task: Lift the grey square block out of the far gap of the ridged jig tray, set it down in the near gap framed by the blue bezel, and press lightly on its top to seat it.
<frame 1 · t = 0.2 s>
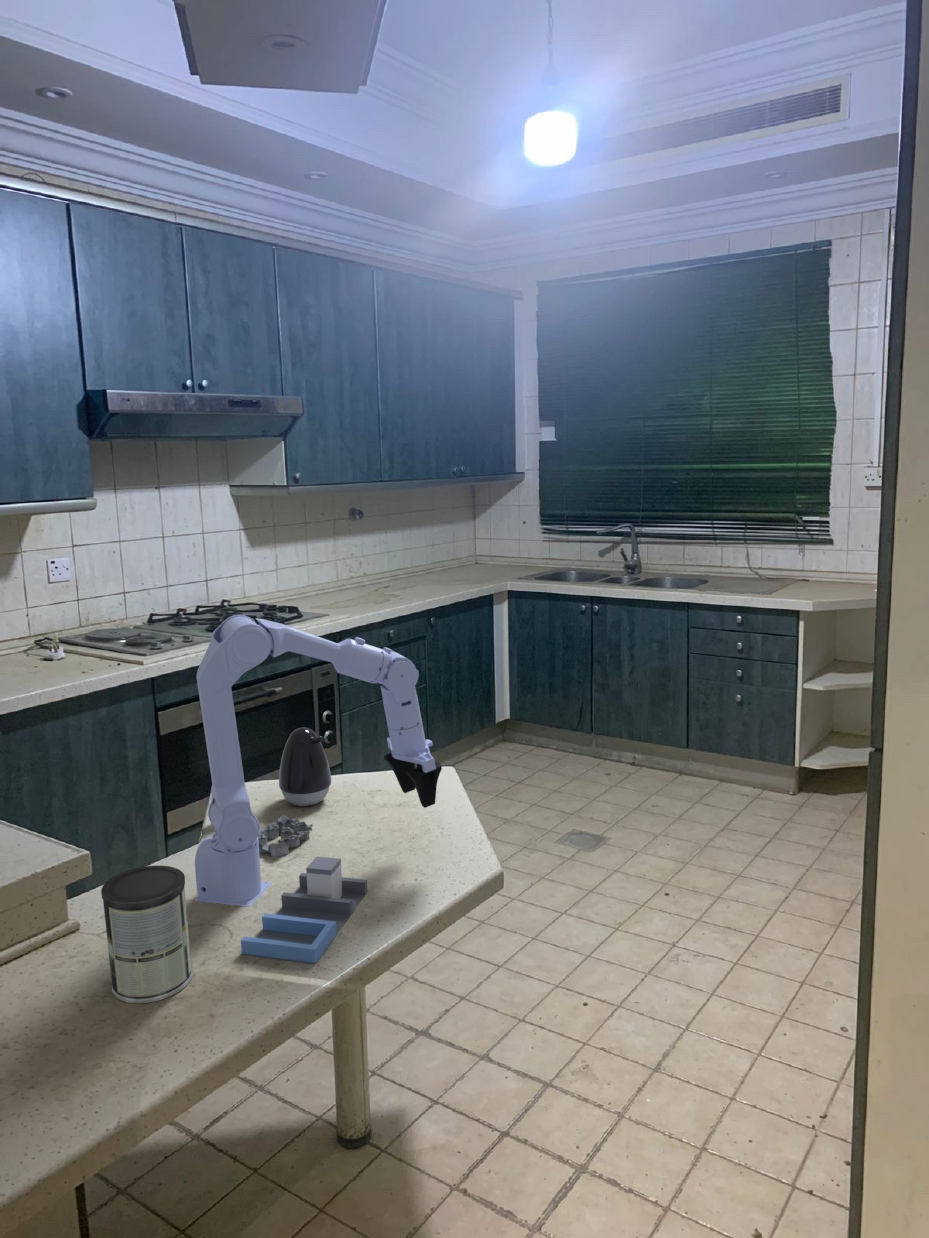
hand: (418, 797, 155), 11 cm above the table, tool pointing down, fingers open, 7 cm apart
grey square block: (325, 899, 141), point 1 cm above the table, touching ridged jig tray
ridged jig tray: (308, 924, 135), on the table
coffee can: (152, 982, 122), on the table
grey lumpy cluster: (281, 848, 162), on the table
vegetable: (226, 821, 173), on the table
black penguin toy: (306, 802, 182), on the table
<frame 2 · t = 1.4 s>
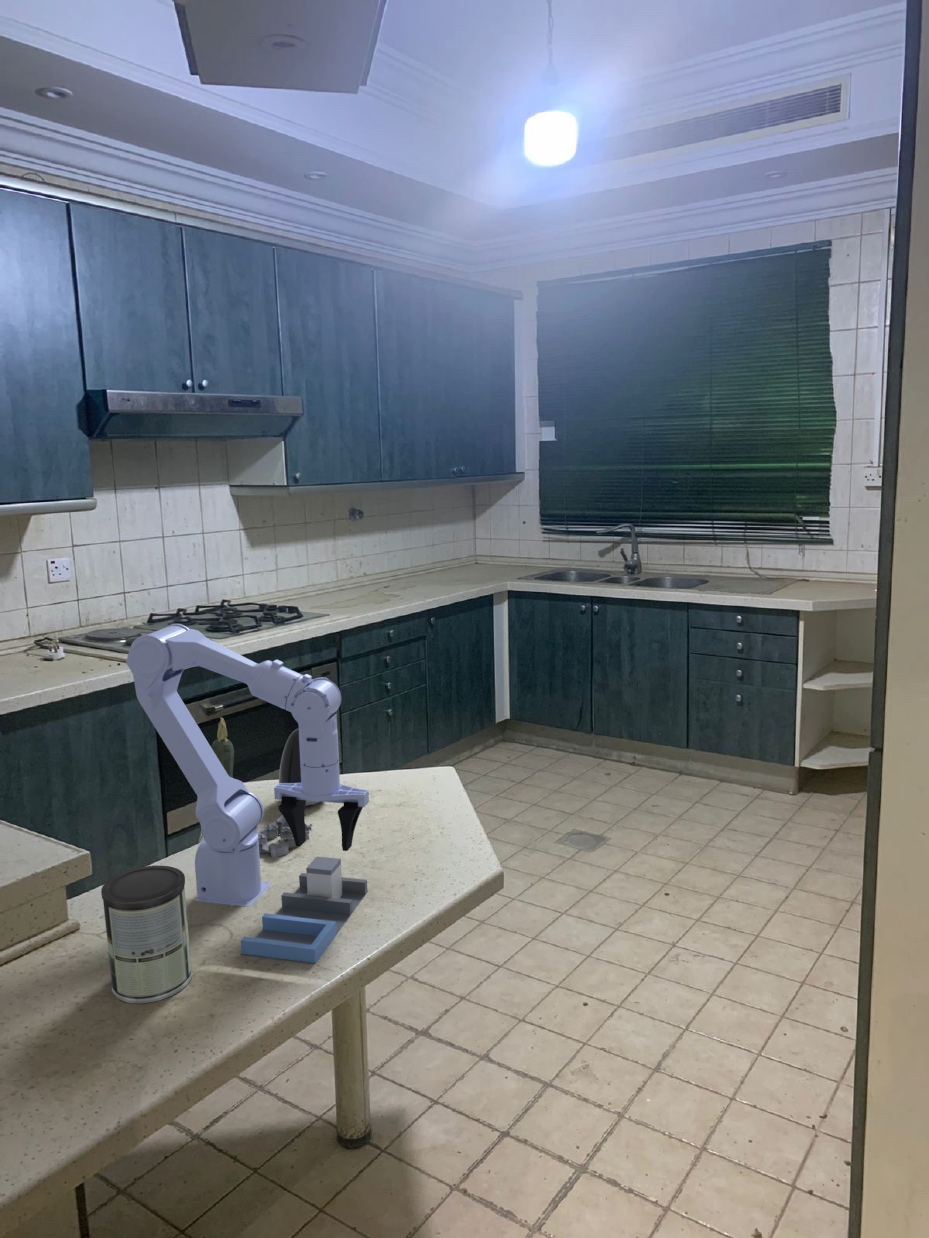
hand: (323, 845, 140), 9 cm above the table, tool pointing down, fingers open, 7 cm apart
nothing on the table moved.
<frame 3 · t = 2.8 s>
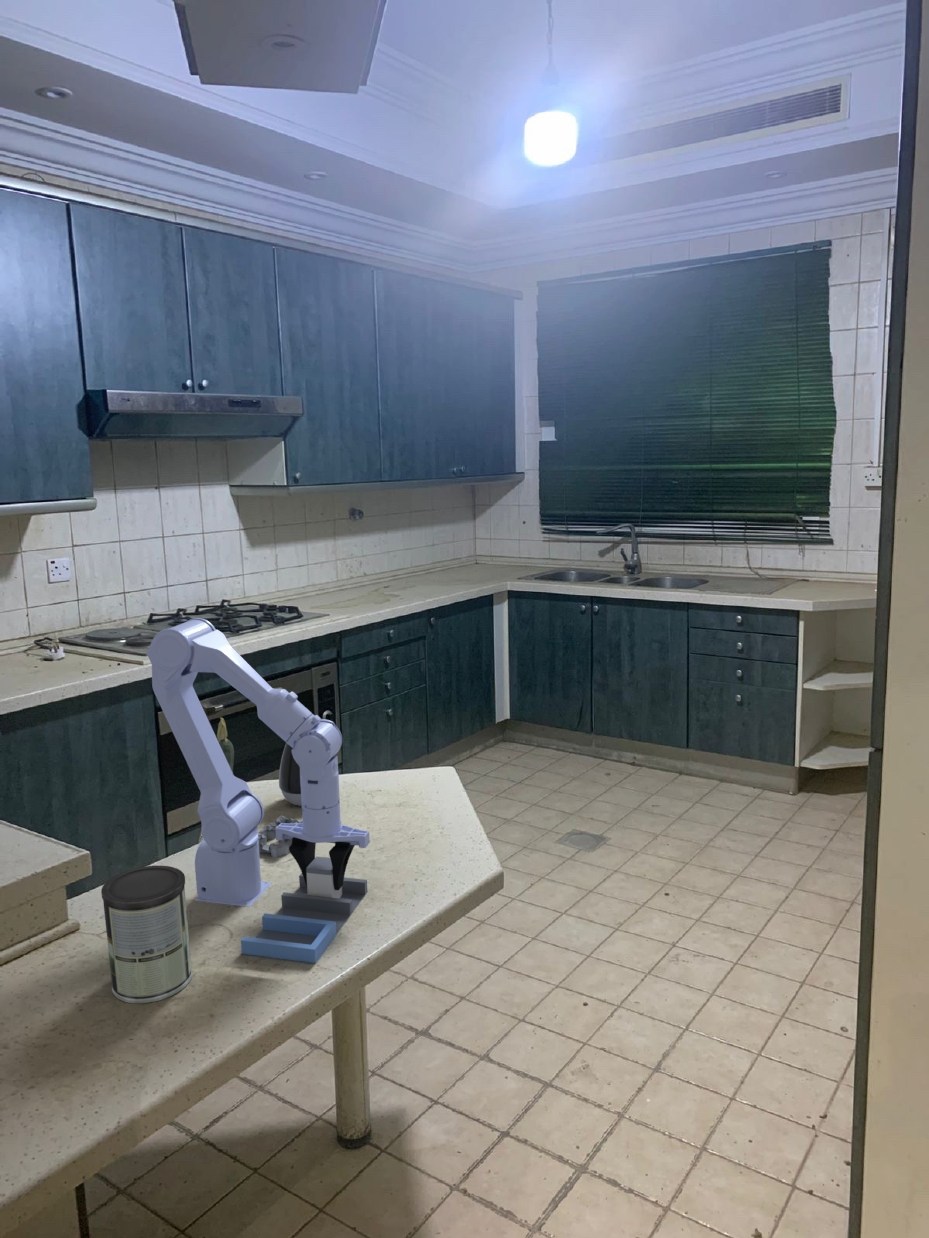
hand: (324, 885, 141), 3 cm above the table, tool pointing down, fingers closed on grey square block, 4 cm apart
grey square block: (325, 899, 141), point 1 cm above the table, touching ridged jig tray, gripper
everything else where it was.
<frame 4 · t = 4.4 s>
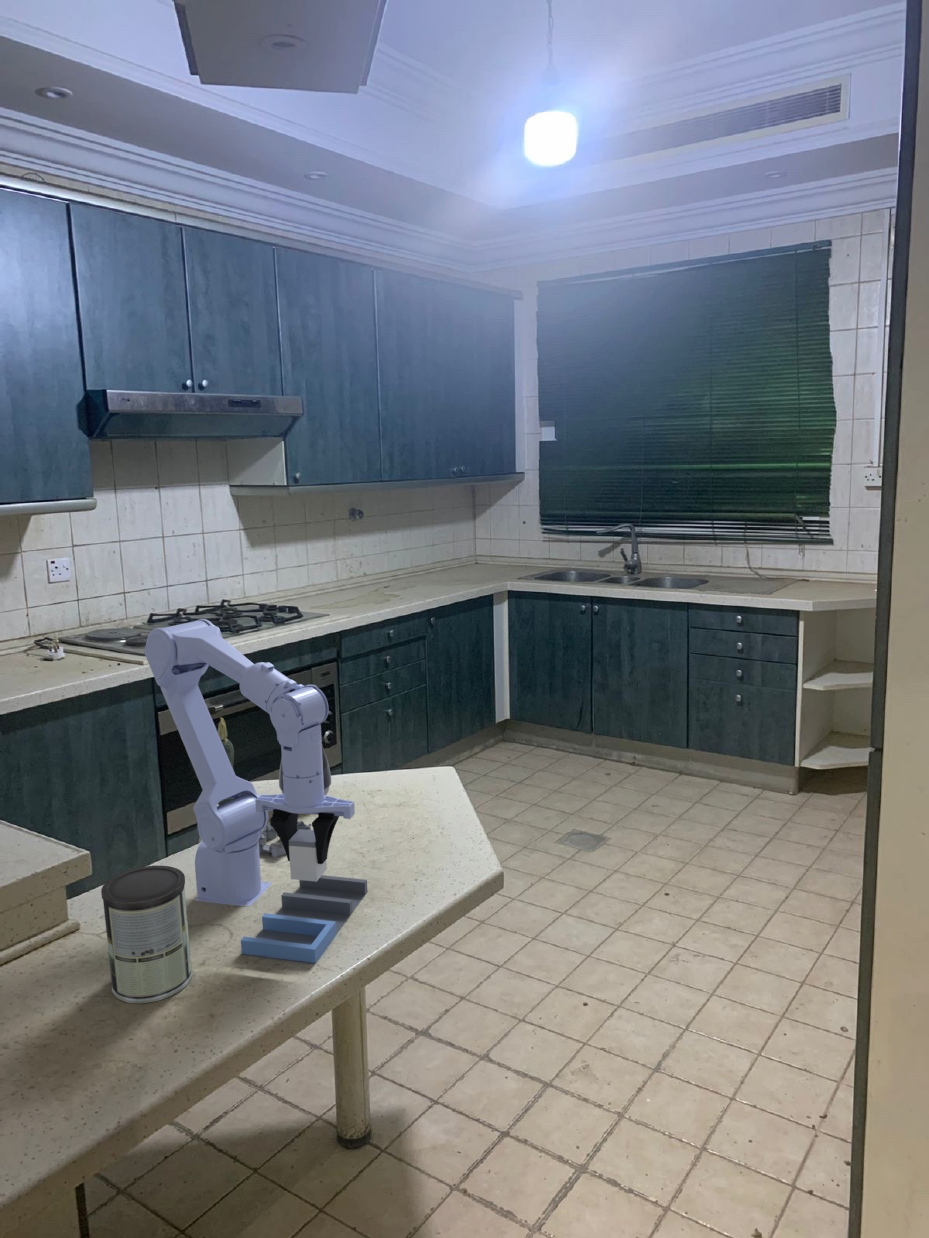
hand: (307, 859, 134), 10 cm above the table, tool pointing down, fingers closed on grey square block, 4 cm apart
grey square block: (309, 873, 135), point 8 cm above the table, touching gripper
everything else where it was.
when the fingers open (4 cm above the table, at t = 6.4 s): grey square block stays where it is, resting on ridged jig tray.
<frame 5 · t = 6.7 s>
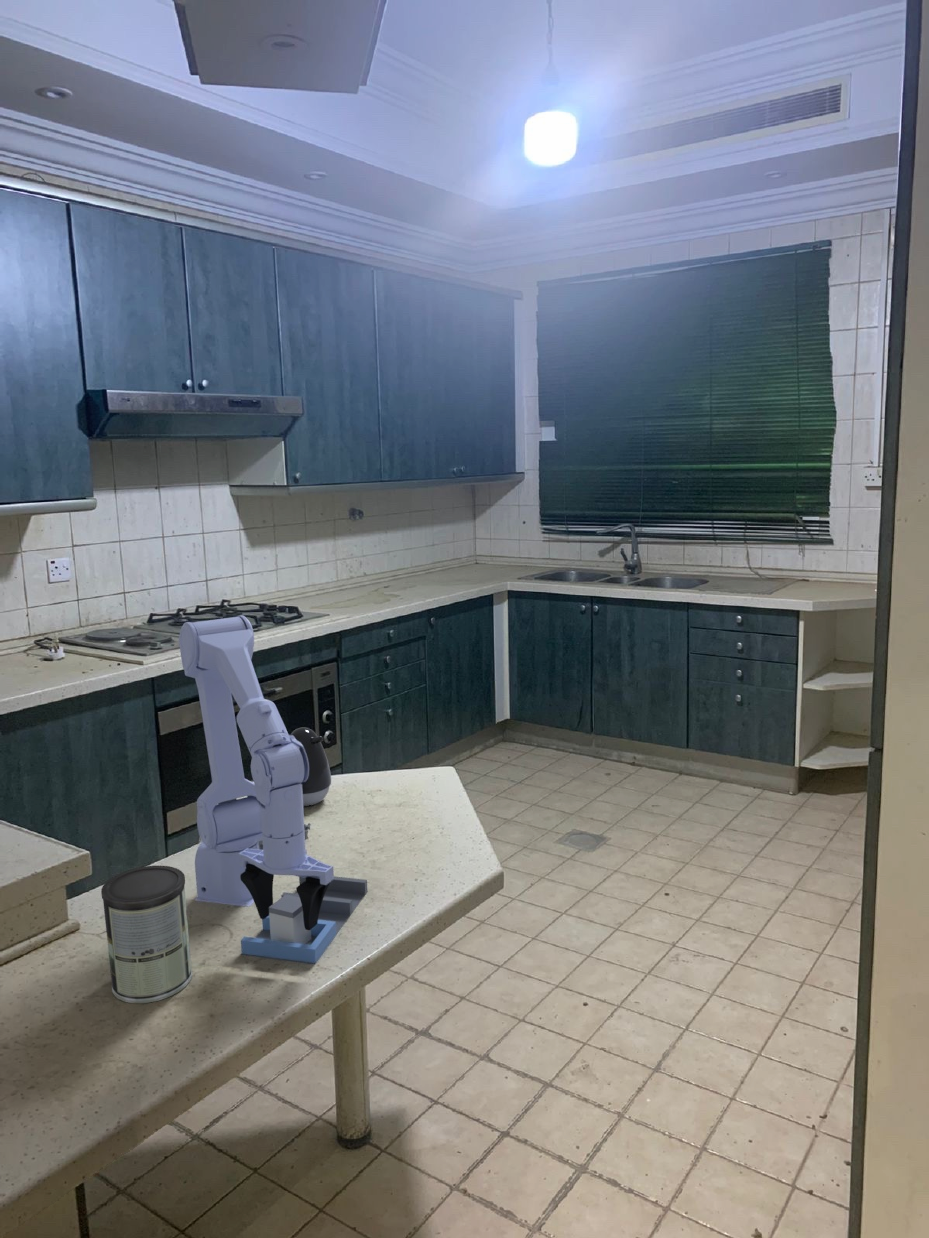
hand: (288, 920, 128), 4 cm above the table, tool pointing down, fingers open, 7 cm apart
grey square block: (291, 942, 129), point 1 cm above the table, touching ridged jig tray
everything else where it was.
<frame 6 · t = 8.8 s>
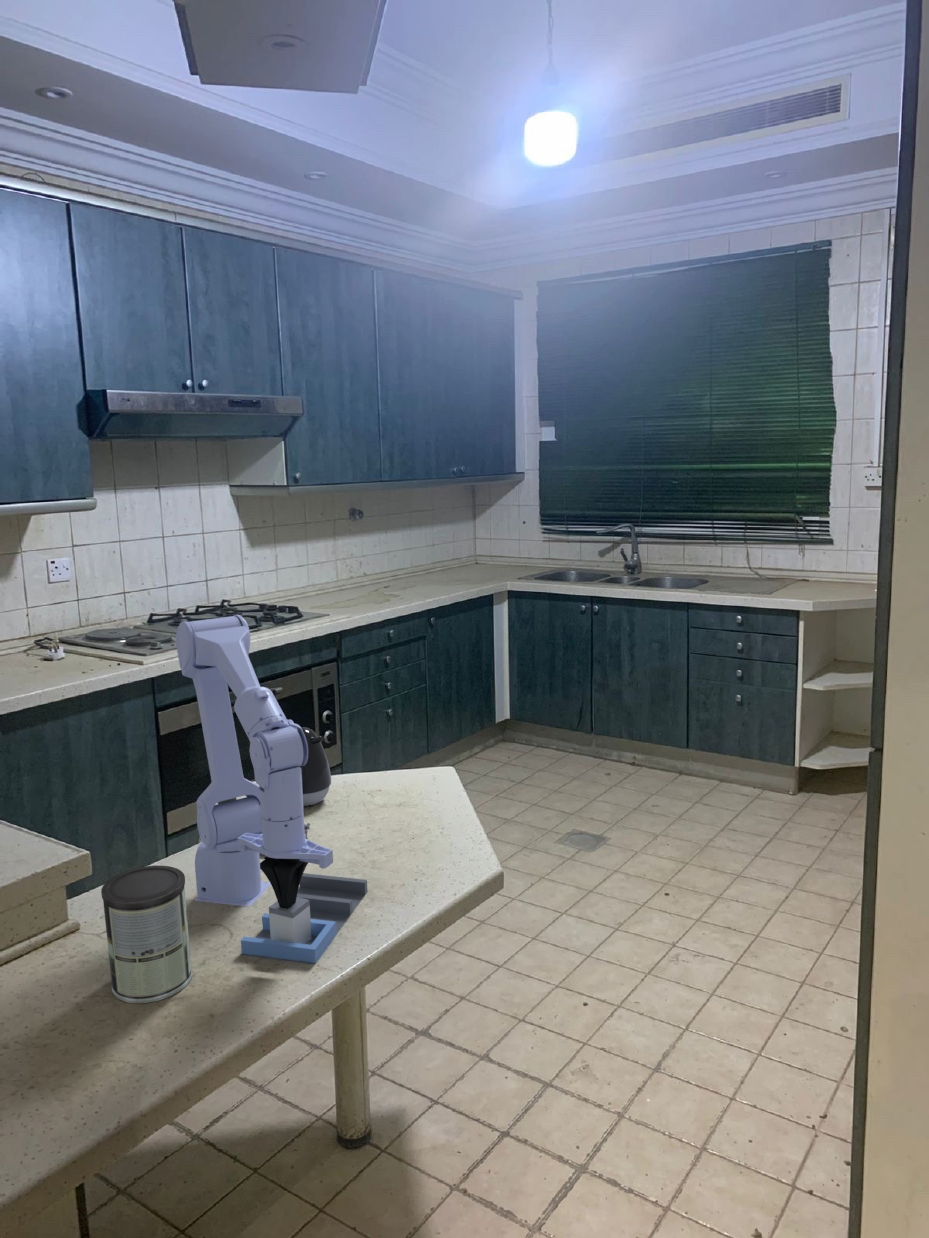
hand: (287, 905, 128), 6 cm above the table, tool pointing down, fingers closed, pressing on grey square block
grey square block: (291, 942, 129), point 1 cm above the table, touching ridged jig tray, gripper
everything else where it was.
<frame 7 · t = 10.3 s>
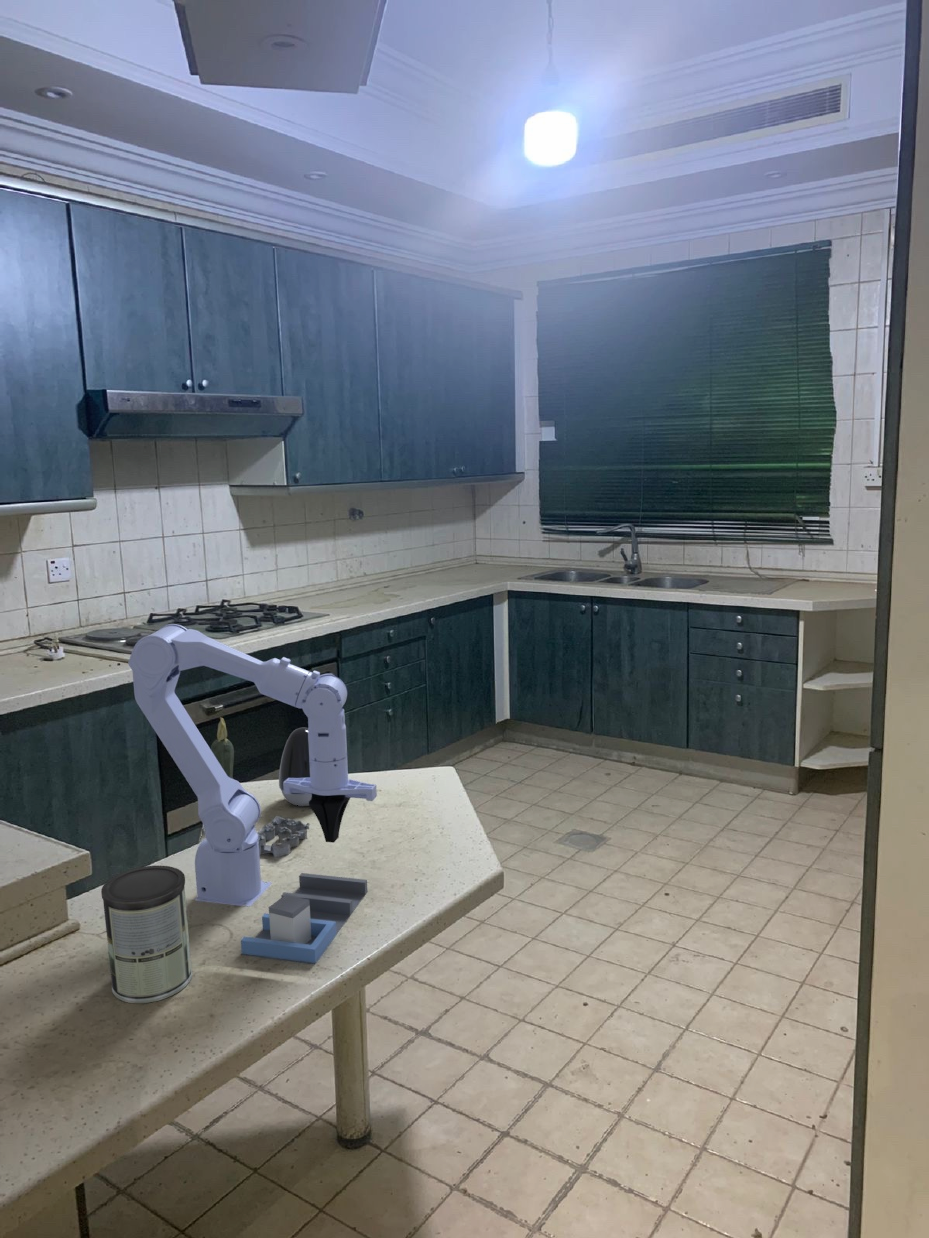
hand: (332, 839, 142), 9 cm above the table, tool pointing down, fingers closed
grey square block: (291, 942, 129), point 1 cm above the table, touching ridged jig tray
everything else where it was.
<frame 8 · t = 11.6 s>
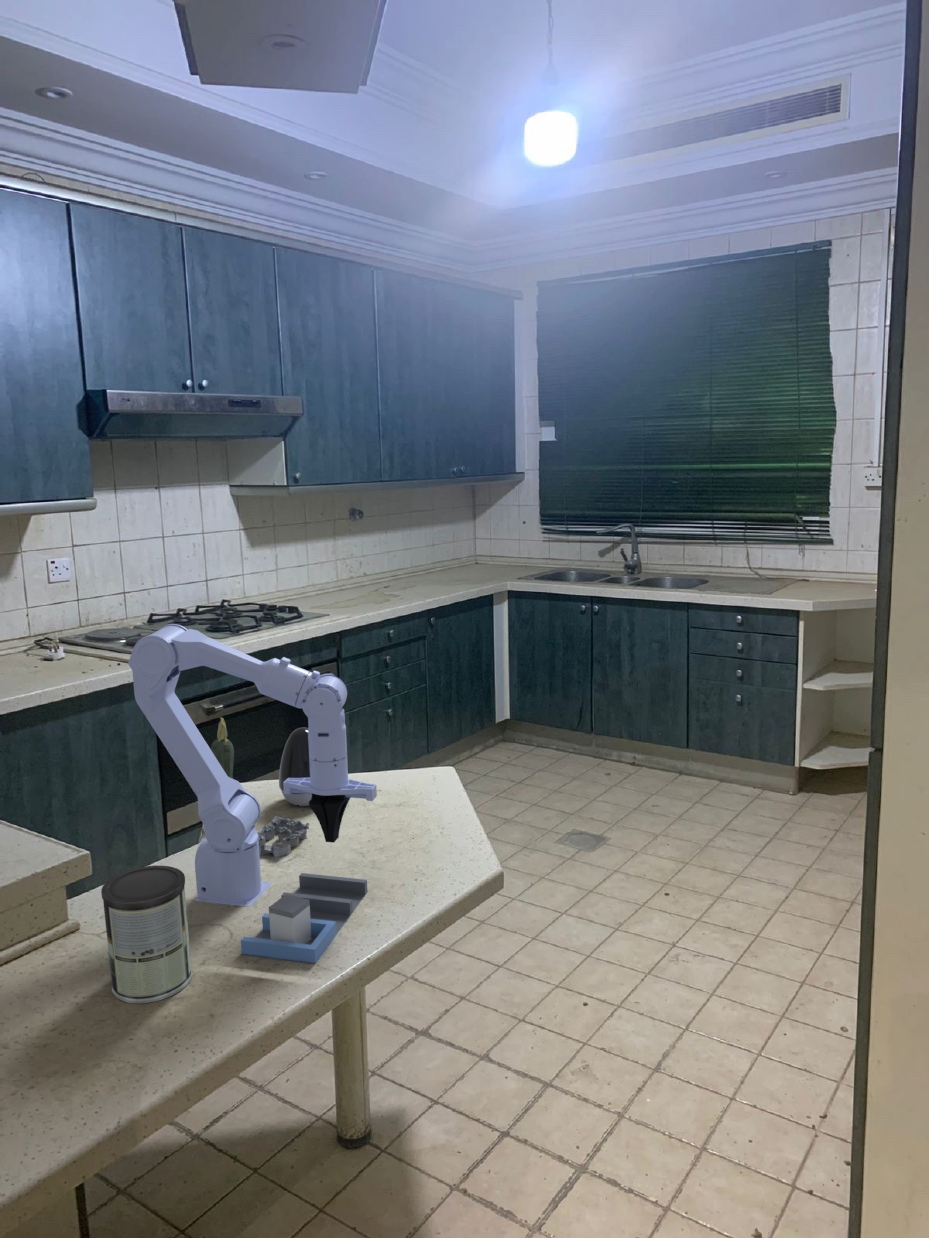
hand: (332, 839, 142), 9 cm above the table, tool pointing down, fingers closed
nothing on the table moved.
at the end: grey square block 0.3 cm from the target spot on the ridged jig tray, point 0.6 cm above the ridged jig tray's base; grey square block tilted 0°; the gripper is holding nothing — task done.
